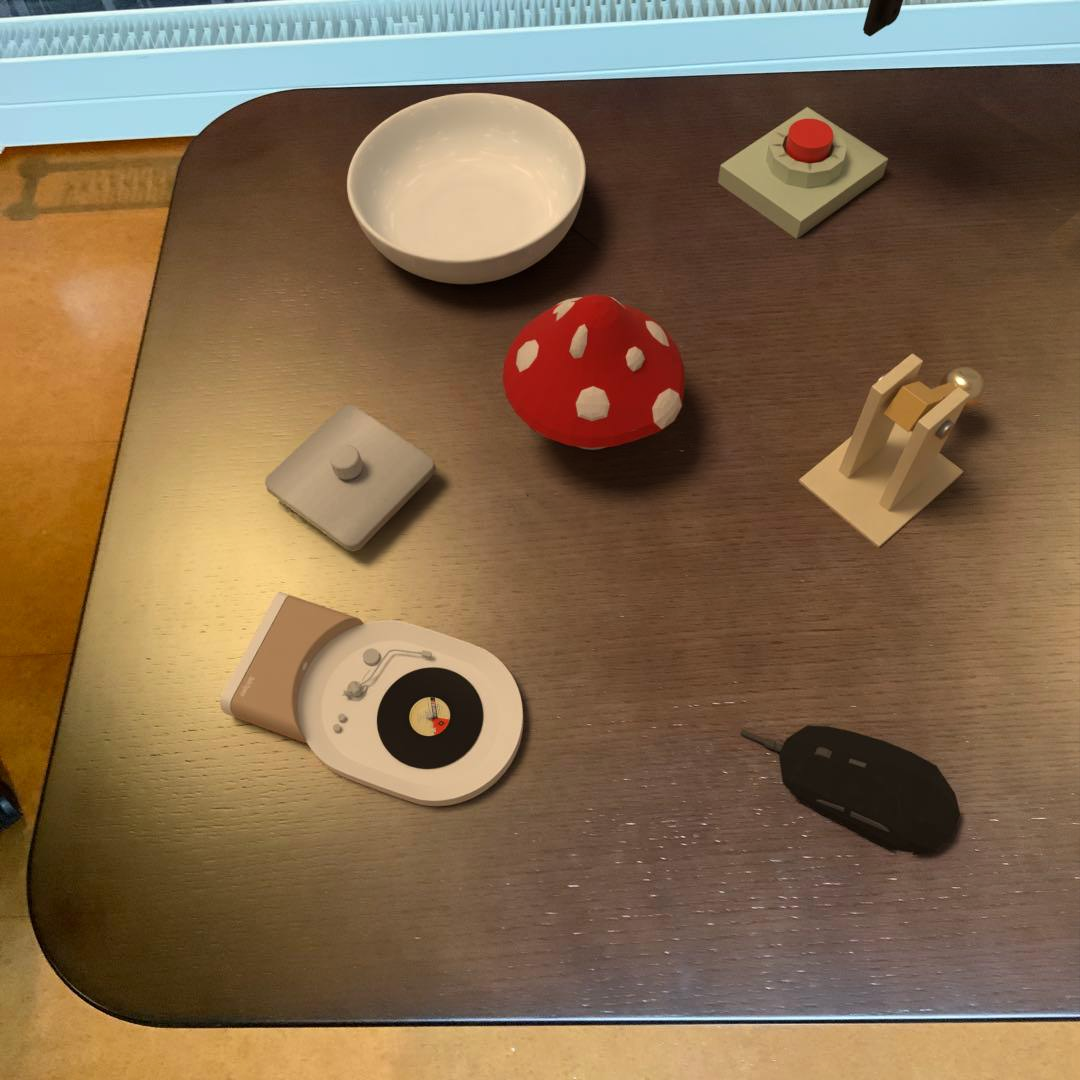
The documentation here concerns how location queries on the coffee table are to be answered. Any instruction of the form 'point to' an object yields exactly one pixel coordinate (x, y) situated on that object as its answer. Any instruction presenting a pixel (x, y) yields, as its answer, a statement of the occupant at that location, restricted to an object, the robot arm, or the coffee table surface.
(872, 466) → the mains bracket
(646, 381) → the decorative mushroom
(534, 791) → the coffee table surface
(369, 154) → the serving bowl
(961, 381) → the lever
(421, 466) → the light switch
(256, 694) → the record player
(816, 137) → the lamp button
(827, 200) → the lamp box
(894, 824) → the gaming mouse
